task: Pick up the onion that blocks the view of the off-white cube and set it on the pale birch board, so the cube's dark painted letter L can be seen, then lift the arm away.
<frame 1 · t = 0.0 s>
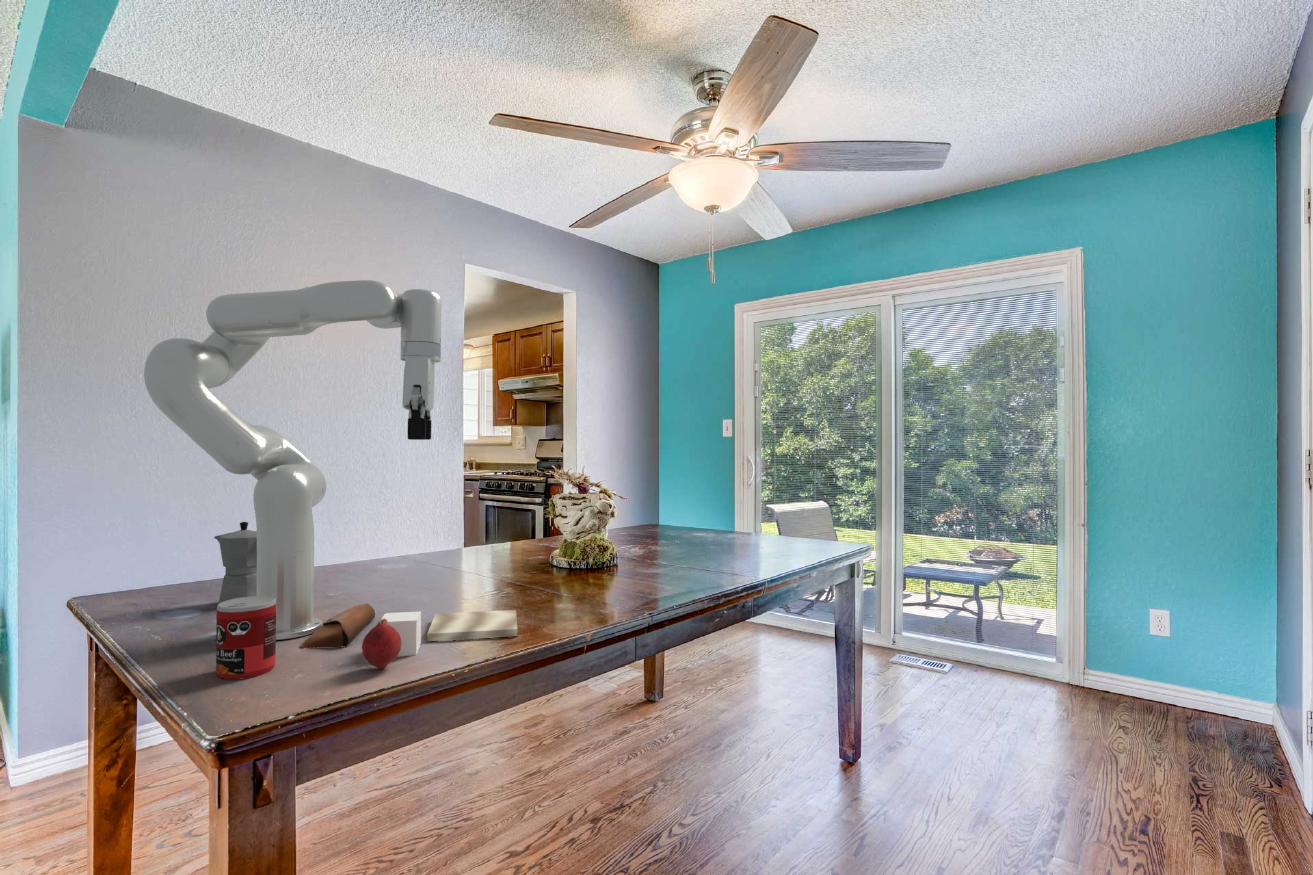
hand: (419, 439, 130), 37 cm above the table, tool pointing down, fingers open, 9 cm apart
letter cube: (400, 651, 114), on the table
birch board: (474, 628, 127), on the table
coffeepot: (247, 603, 145), on the table
canned food: (246, 672, 103), on the table
onion: (381, 670, 105), on the table
sunglasses case: (340, 637, 124), on the table
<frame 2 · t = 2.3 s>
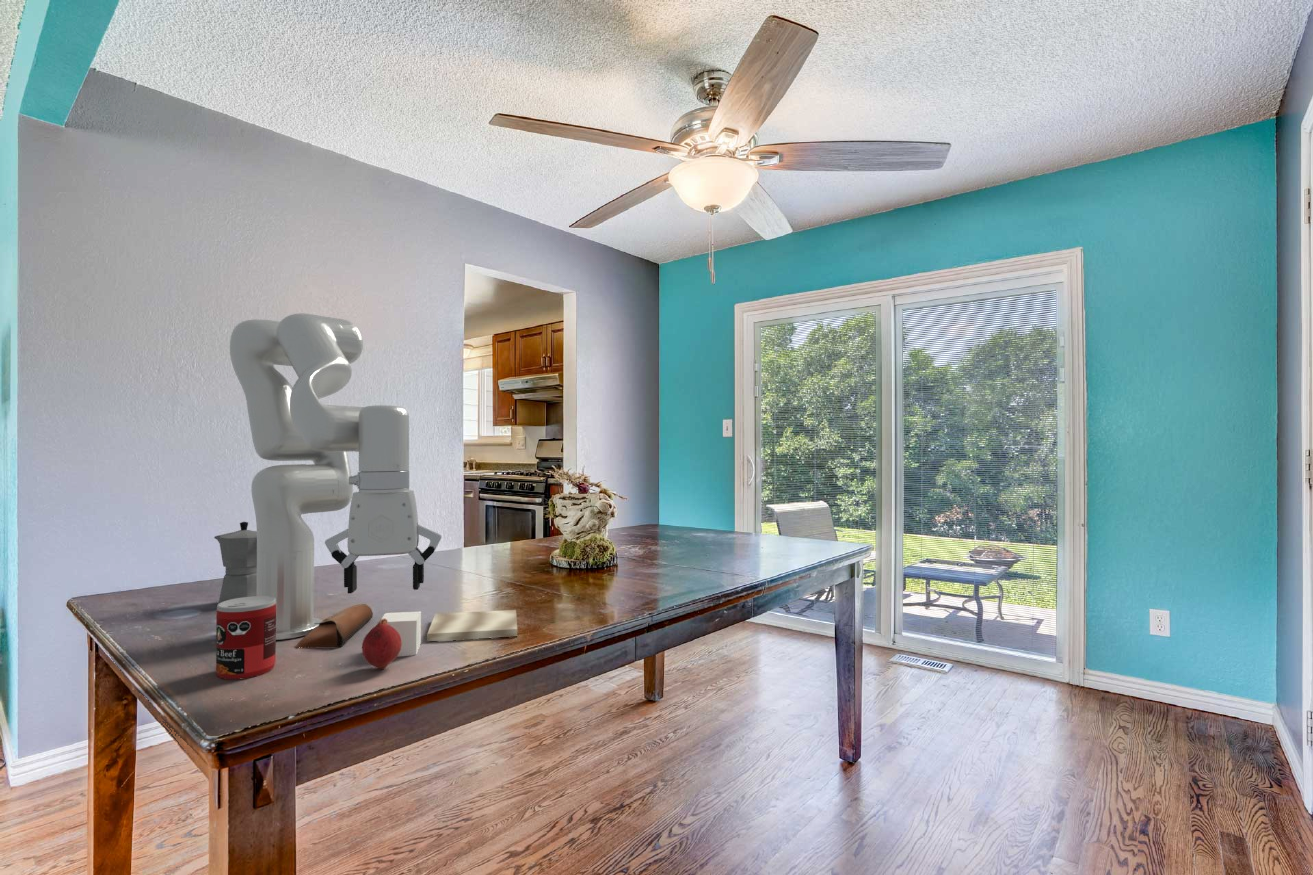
hand: (384, 589, 104), 13 cm above the table, tool pointing down, fingers open, 9 cm apart
nothing on the table moved.
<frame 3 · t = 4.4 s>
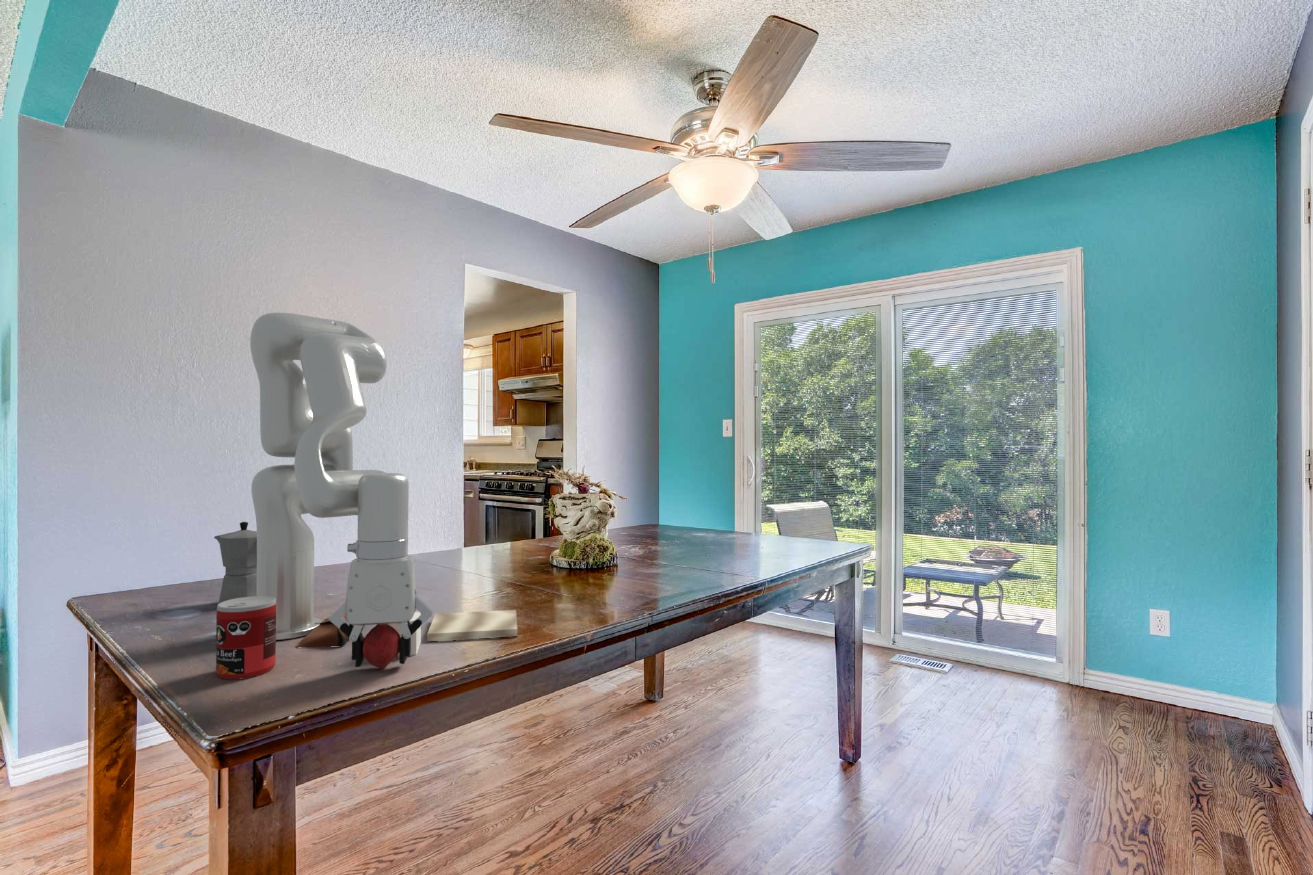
hand: (381, 661, 105), 1 cm above the table, tool pointing down, fingers closed on onion, 5 cm apart
onion: (381, 670, 105), on the table, touching gripper
everything else where it was.
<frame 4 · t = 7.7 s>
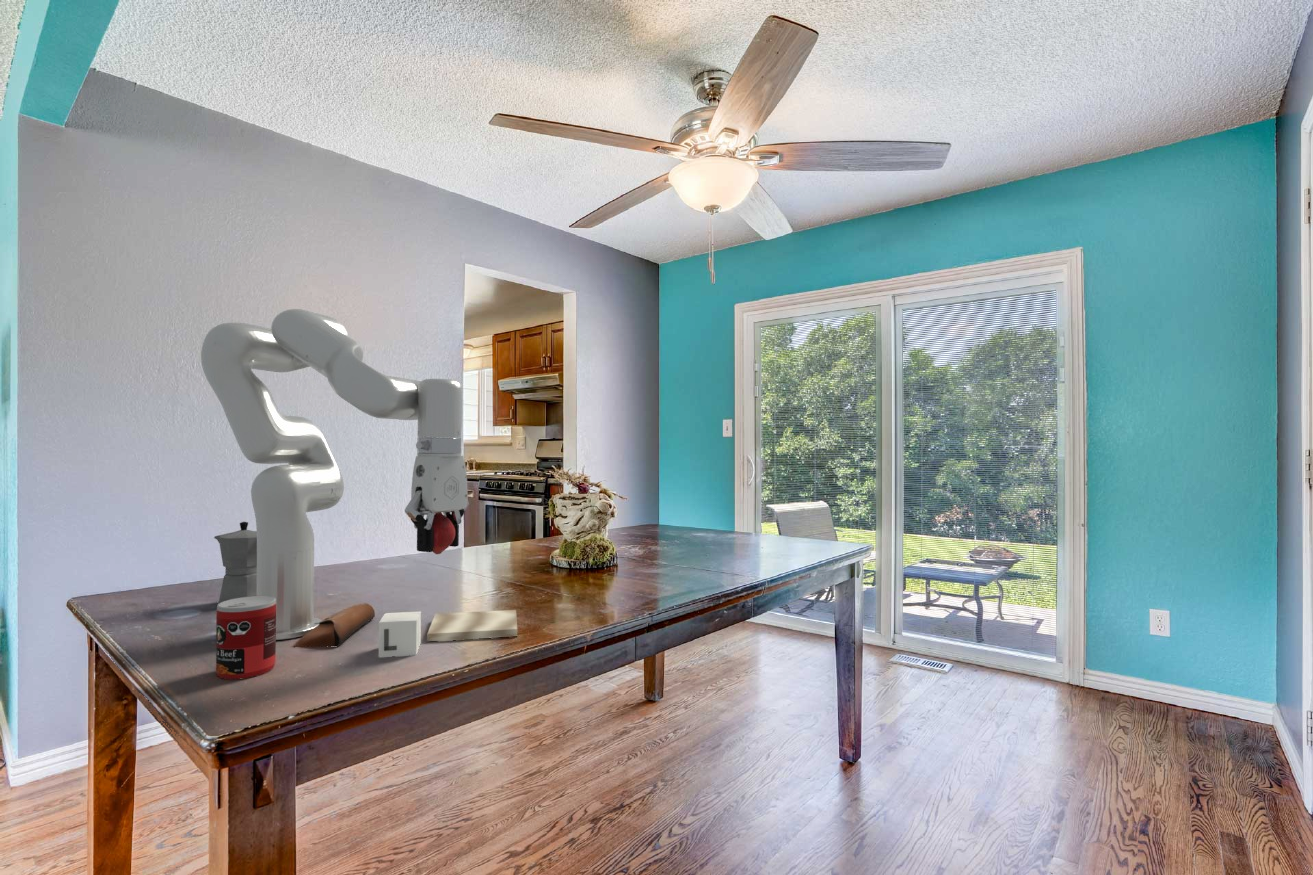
hand: (438, 547, 117), 17 cm above the table, tool pointing down, fingers closed on onion, 5 cm apart
onion: (438, 555, 117), point 16 cm above the table, touching gripper
everything else where it was.
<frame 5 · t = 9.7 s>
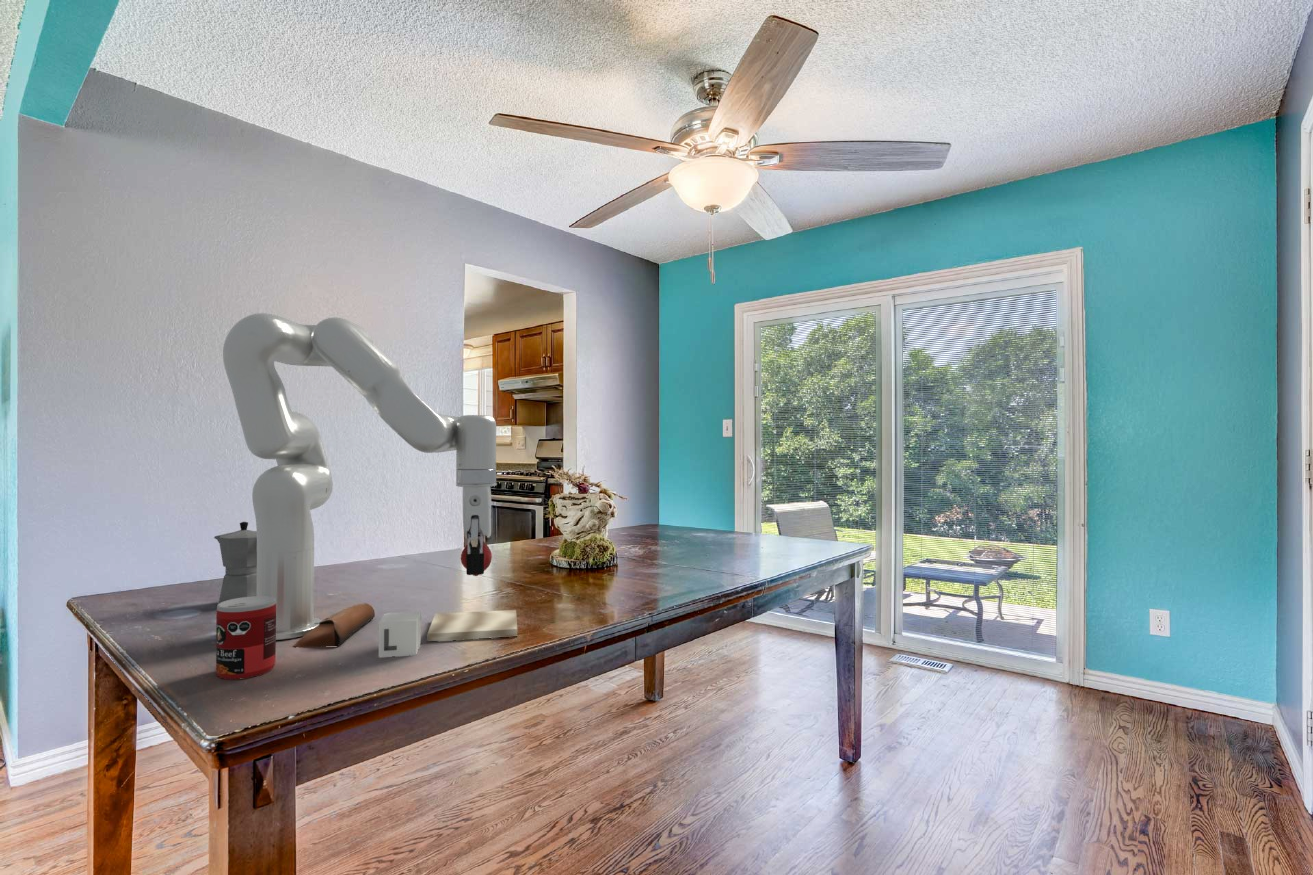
hand: (476, 570, 127), 11 cm above the table, tool pointing down, fingers closed on onion, 5 cm apart
onion: (476, 577, 127), point 10 cm above the table, touching gripper
everything else where it was.
when the fingers open (4 cm above the table, at t = 11.4 s): onion drops 1 cm, resting on birch board.
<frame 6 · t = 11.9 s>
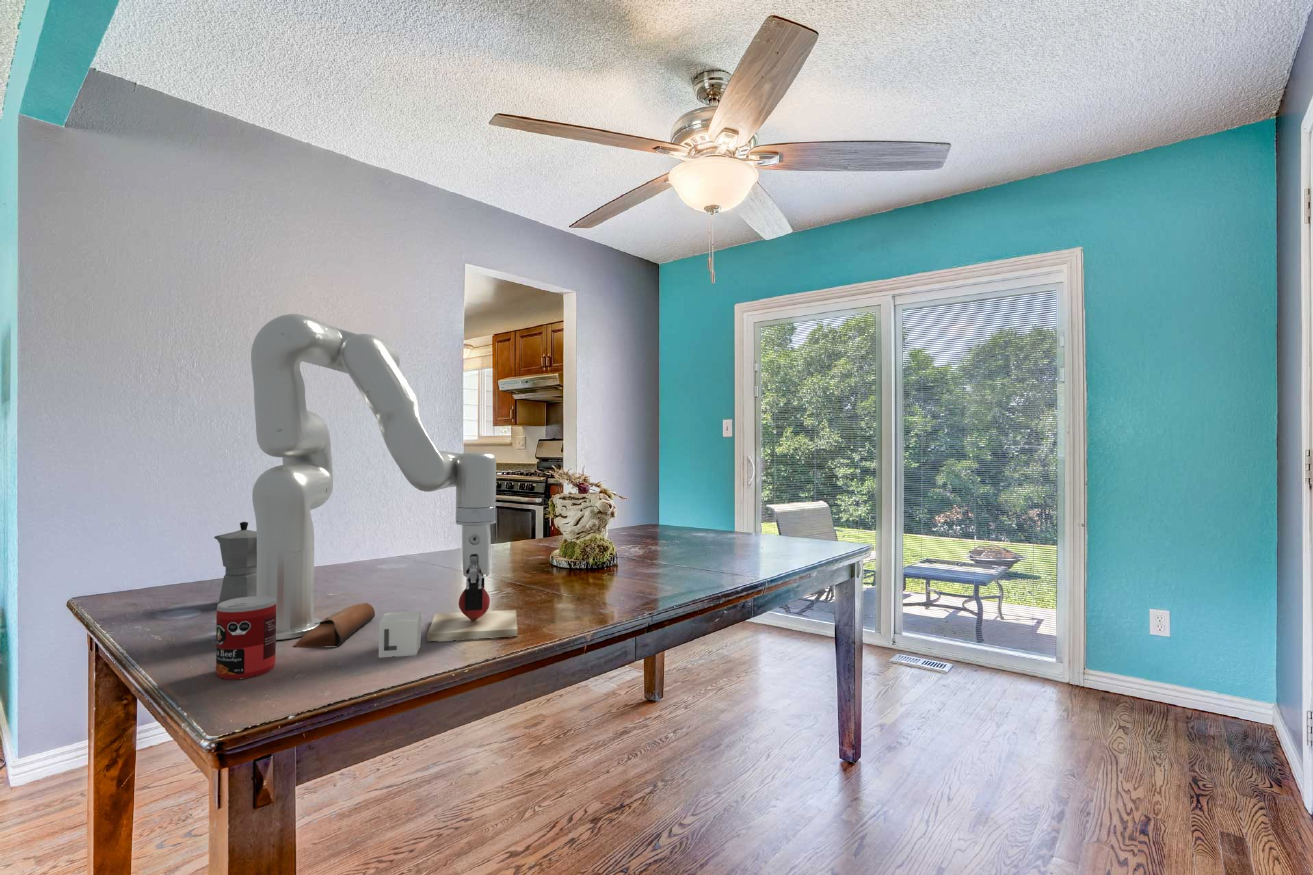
hand: (474, 603, 127), 5 cm above the table, tool pointing down, fingers open, 9 cm apart
onion: (474, 621, 127), point 1 cm above the table, touching birch board
everything else where it was.
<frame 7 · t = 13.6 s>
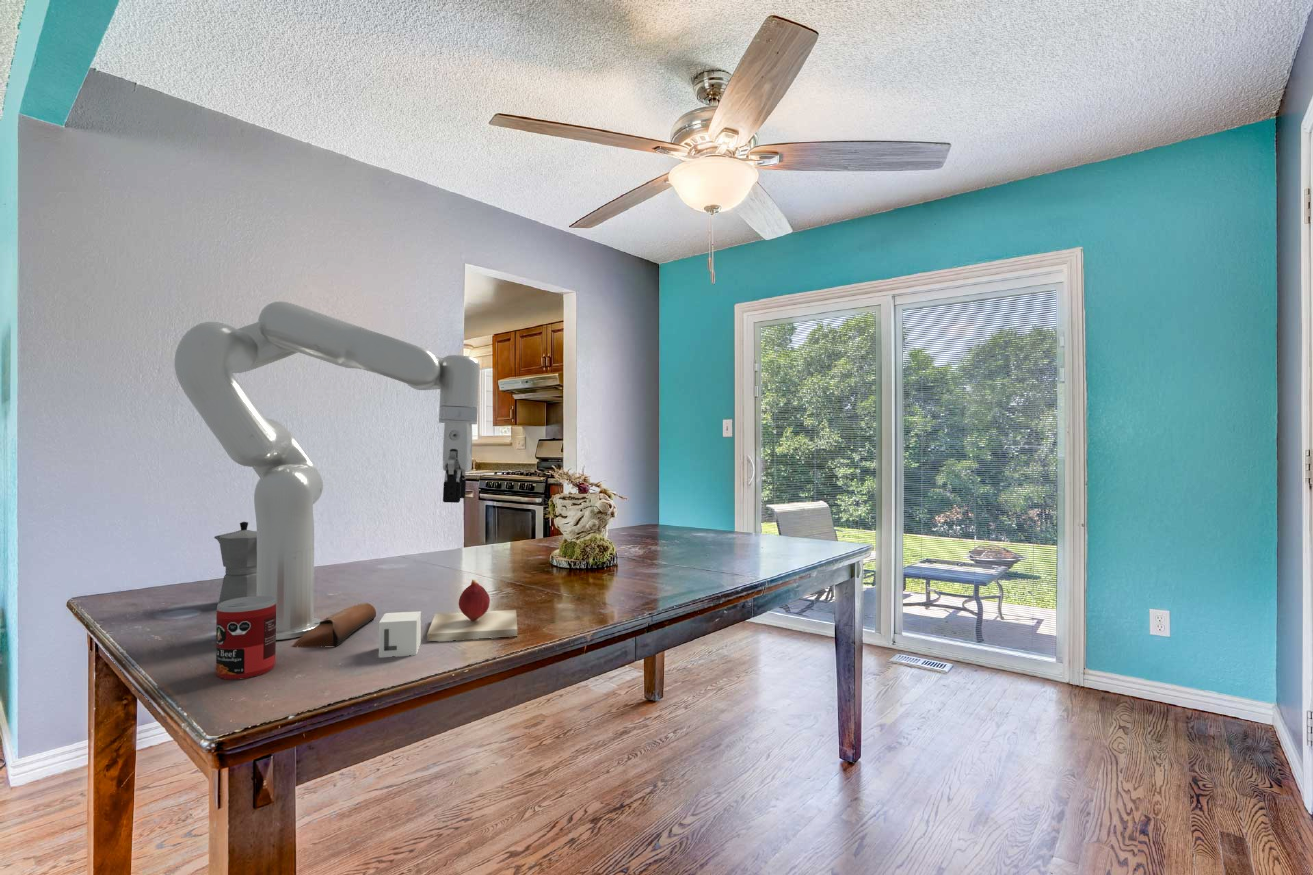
hand: (454, 500, 134), 24 cm above the table, tool pointing down, fingers open, 9 cm apart
nothing on the table moved.
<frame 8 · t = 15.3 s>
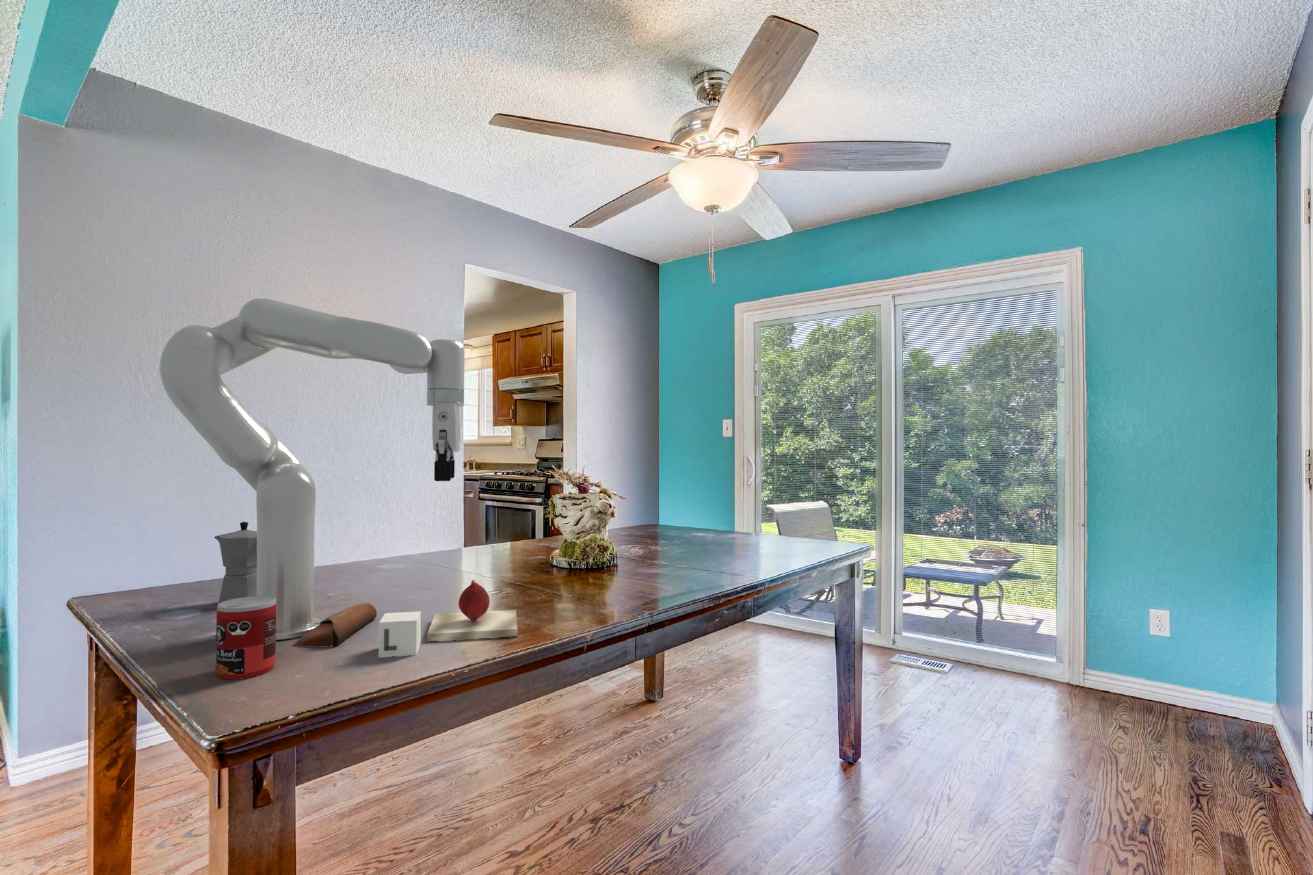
hand: (444, 479, 139), 28 cm above the table, tool pointing down, fingers open, 9 cm apart
at the end: onion inside the target area on the birch board (0.1 cm from its centre), point 1.3 cm above the birch board's base; the gripper is holding nothing; letter cube moved 0.1 cm from its start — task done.
